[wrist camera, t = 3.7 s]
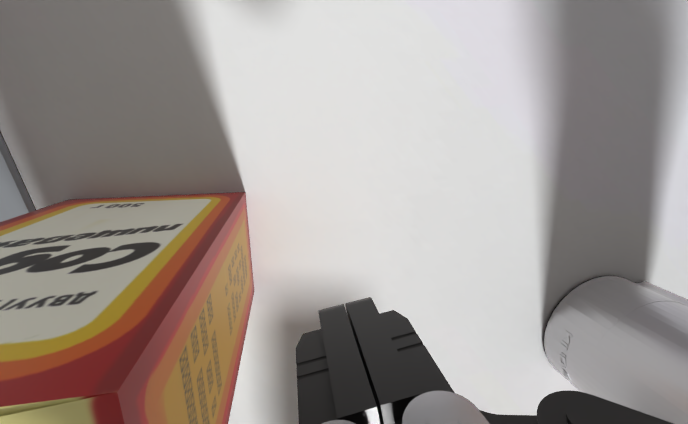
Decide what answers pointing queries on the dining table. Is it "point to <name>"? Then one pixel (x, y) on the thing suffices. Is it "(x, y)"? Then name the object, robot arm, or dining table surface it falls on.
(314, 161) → the dining table surface
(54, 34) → the dining table surface
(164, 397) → the baking soda box
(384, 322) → the robot arm
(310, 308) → the dining table surface
